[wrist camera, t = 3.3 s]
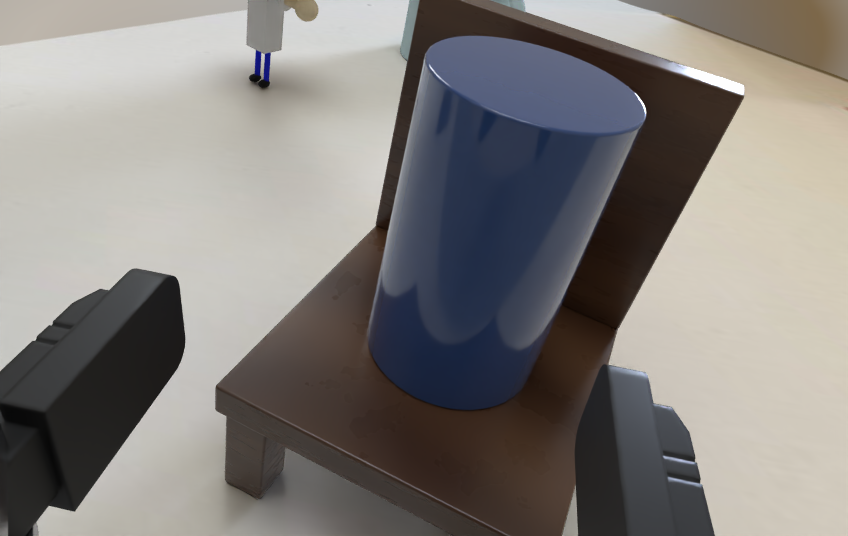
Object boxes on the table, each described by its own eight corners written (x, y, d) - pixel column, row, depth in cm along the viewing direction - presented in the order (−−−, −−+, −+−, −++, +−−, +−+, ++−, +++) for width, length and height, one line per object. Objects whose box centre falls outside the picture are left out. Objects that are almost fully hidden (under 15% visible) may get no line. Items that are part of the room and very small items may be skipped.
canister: (502, 441, 20) (630, 162, 14) (335, 360, 21) (385, 70, 15) (548, 330, 24) (659, 85, 18) (409, 269, 26) (470, 20, 20)
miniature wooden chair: (501, 642, 20) (744, 277, 11) (213, 483, 22) (216, 68, 13) (578, 395, 29) (745, 85, 20) (369, 299, 32) (434, -19, 22)
